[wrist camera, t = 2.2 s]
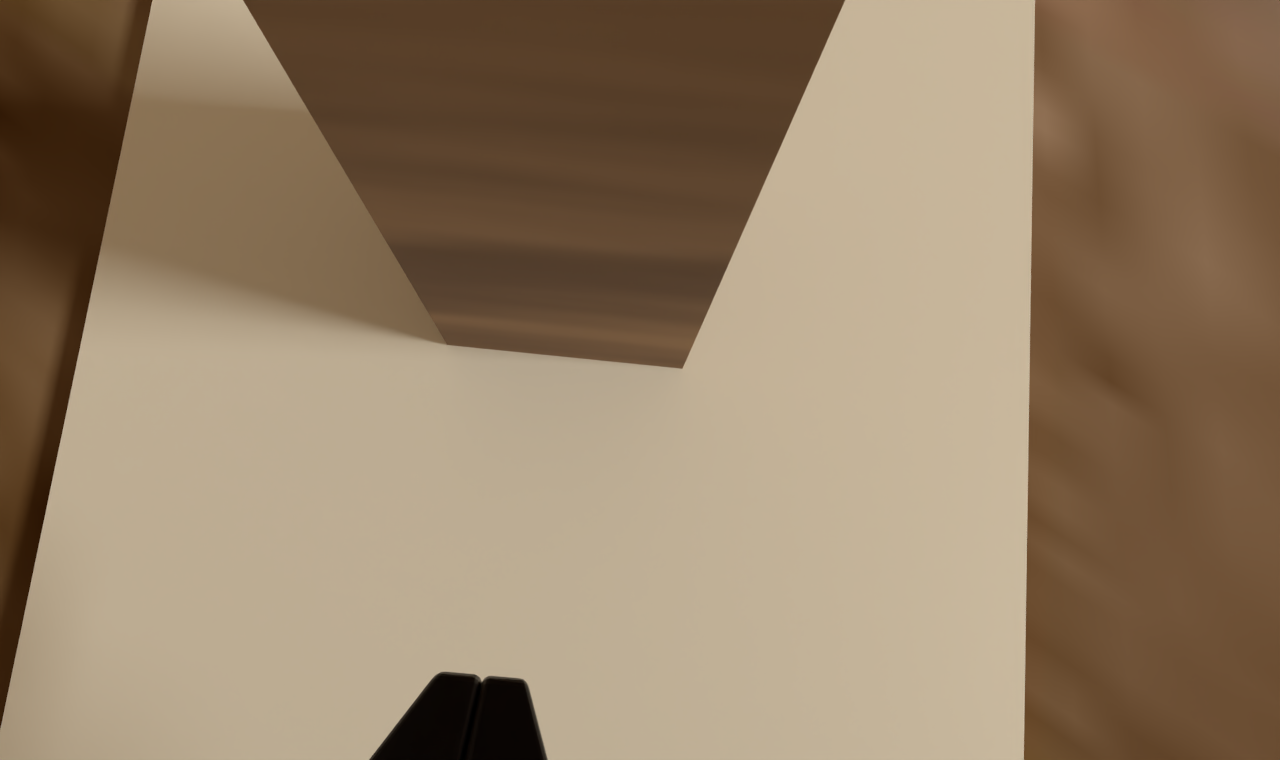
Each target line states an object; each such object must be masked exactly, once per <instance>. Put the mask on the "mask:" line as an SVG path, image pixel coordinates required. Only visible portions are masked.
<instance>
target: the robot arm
mask: <svg viewBox="0 0 1280 760" xmlns="http://www.w3.org/2000/svg"><path fill="white" fill-rule="evenodd" d="M369 760H548V759H547V755H546V751H545V747H544V743H543V739H542V736H541V732H540V728H539V724H538V720H537V716H536V712H535V709H534V705H533V701H532V697H531V693H530V689H529V686H528V684H527V682H526V681H525V680H523V679H521V678H512V677H501V676H488V677H486V678H484V680H483V681H481V678H480V677H479V676H478V675H475V674H467V673H456V672H440V673H438V674H436V675H435V676H434V677H433V678H432V679H431V680H430V682H429V683H428V684H427V685H426V687H425V688H424V689H423V691H422V692H421V693H420V694H419V696H418V697H417V698H416V700H415V701H414V702H413V704H412V705H411V706H410V707H409V709H408V710H407V711H406V713H405V714H404V715H403V716H402V718H401V719H400V720H399V722H398V723H397V724H396V725H395V727H394V728H393V729H392V731H391V732H390V733H389V734H388V736H387V737H386V738H385V740H384V741H383V742H382V743H381V745H380V746H379V747H378V749H377V750H376V751H375V753H374V754H373V755H372V756H371V758H370V759H369Z"/></svg>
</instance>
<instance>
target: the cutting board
mask: <svg viewBox="0 0 1280 760" xmlns="http://www.w3.org/2000/svg"><path fill="white" fill-rule="evenodd" d="M1034 26H1035V0H845V2H844V4H843V6H842V9H841V11H840V13H839V15H838V18H837V20H836V22H835V24H834V27H833V29H832V31H831V33H830V36H829V38H828V40H827V43H826V45H825V47H824V49H823V52H822V54H821V56H820V58H819V61H818V63H817V65H816V67H815V70H814V72H813V74H812V77H811V79H810V81H809V83H808V86H807V88H806V90H805V92H804V95H803V97H802V99H801V101H800V104H799V106H798V108H797V110H796V113H795V115H794V117H793V120H792V122H791V124H790V126H789V129H788V131H787V133H786V135H785V138H784V140H783V142H782V144H781V147H780V149H779V151H778V154H777V156H776V158H775V160H774V163H773V165H772V167H771V169H770V172H769V174H768V176H767V178H766V181H765V183H764V185H763V187H762V190H761V192H760V194H759V197H758V199H757V201H756V203H755V206H754V208H753V210H752V212H751V215H750V217H749V219H748V221H747V224H746V226H745V228H744V231H743V233H742V235H741V237H740V240H739V242H738V244H737V246H736V249H735V251H734V253H733V255H732V258H731V260H730V262H729V264H728V267H727V269H726V271H725V274H724V276H723V278H722V280H721V283H720V285H719V287H718V289H717V292H716V294H715V296H714V298H713V301H712V303H711V305H710V308H709V310H708V312H707V314H706V317H705V319H704V321H703V323H702V326H701V328H700V330H699V332H698V335H697V337H696V339H695V341H694V344H693V346H692V348H691V351H690V353H689V355H688V357H687V360H686V362H685V364H684V366H683V369H681V368H671V367H661V366H651V365H641V364H631V363H621V362H611V361H601V360H591V359H581V358H571V357H561V356H551V355H541V354H532V353H522V352H512V351H502V350H492V349H482V348H472V347H462V346H452V345H447V344H446V342H445V340H444V339H443V337H442V335H441V334H440V332H439V330H438V328H437V327H436V325H435V323H434V322H433V320H432V318H431V317H430V315H429V313H428V312H427V310H426V308H425V307H424V305H423V303H422V301H421V300H420V298H419V296H418V295H417V293H416V291H415V290H414V288H413V286H412V285H411V283H410V281H409V280H408V278H407V276H406V274H405V273H404V271H403V269H402V268H401V266H400V264H399V263H398V261H397V259H396V258H395V256H394V254H393V253H392V251H391V249H390V247H389V246H388V244H387V242H386V241H385V239H384V237H383V236H382V234H381V232H380V231H379V229H378V227H377V226H376V224H375V222H374V220H373V219H372V217H371V215H370V214H369V212H368V210H367V209H366V207H365V205H364V204H363V202H362V200H361V198H360V197H359V195H358V193H357V192H356V190H355V188H354V187H353V185H352V183H351V182H350V180H349V178H348V177H347V175H346V173H345V171H344V170H343V168H342V166H341V165H340V163H339V161H338V160H337V158H336V156H335V155H334V153H333V151H332V150H331V148H330V146H329V144H328V143H327V141H326V139H325V138H324V136H323V134H322V133H321V131H320V129H319V128H318V126H317V124H316V123H315V121H314V119H313V117H312V116H311V114H310V112H309V111H308V109H307V107H306V106H305V104H304V102H303V101H302V99H301V97H300V96H299V94H298V92H297V90H296V89H295V87H294V85H293V84H292V82H291V80H290V79H289V77H288V75H287V74H286V72H285V70H284V69H283V67H282V65H281V63H280V62H279V60H278V58H277V57H276V55H275V53H274V52H273V50H272V48H271V47H270V45H269V43H268V42H267V40H266V38H265V36H264V35H263V33H262V31H261V30H260V28H259V26H258V25H257V23H256V21H255V20H254V18H253V16H252V15H251V13H250V11H249V9H248V8H247V6H246V4H245V3H244V1H243V0H152V5H151V10H150V14H149V19H148V24H147V29H146V34H145V38H144V43H143V48H142V53H141V58H140V62H139V67H138V72H137V77H136V82H135V86H134V91H133V96H132V101H131V106H130V110H129V115H128V120H127V125H126V129H125V134H124V139H123V144H122V149H121V153H120V158H119V163H118V168H117V173H116V177H115V182H114V187H113V192H112V197H111V201H110V206H109V211H108V216H107V220H106V225H105V230H104V235H103V240H102V244H101V249H100V254H99V259H98V264H97V268H96V273H95V278H94V283H93V288H92V292H91V297H90V302H89V307H88V312H87V316H86V321H85V326H84V331H83V335H82V340H81V345H80V350H79V355H78V359H77V364H76V369H75V374H74V379H73V383H72V388H71V393H70V398H69V403H68V407H67V412H66V417H65V422H64V427H63V431H62V436H61V441H60V446H59V450H58V455H57V460H56V465H55V470H54V474H53V479H52V484H51V489H50V494H49V498H48V503H47V508H46V513H45V518H44V522H43V527H42V532H41V537H40V541H39V546H38V551H37V556H36V561H35V565H34V570H33V575H32V580H31V585H30V589H29V594H28V599H27V604H26V609H25V613H24V618H23V623H22V628H21V633H20V637H19V642H18V647H17V652H16V656H15V661H14V666H13V671H12V676H11V680H10V685H9V690H8V695H7V700H6V704H5V709H4V714H3V719H2V724H1V728H0V760H369V759H370V758H371V756H372V755H373V754H374V753H375V751H376V750H377V749H378V747H379V746H380V745H381V743H382V742H383V741H384V740H385V738H386V737H387V736H388V734H389V733H390V732H391V731H392V729H393V728H394V727H395V725H396V724H397V723H398V722H399V720H400V719H401V718H402V716H403V715H404V714H405V713H406V711H407V710H408V709H409V707H410V706H411V705H412V704H413V702H414V701H415V700H416V698H417V697H418V696H419V694H420V693H421V692H422V691H423V689H424V688H425V687H426V685H427V684H428V683H429V682H430V680H431V679H432V678H433V677H434V676H435V675H436V674H438V673H440V672H456V673H467V674H475V675H478V676H479V677H480V678H481V681H483V680H484V678H486V677H488V676H501V677H512V678H521V679H523V680H525V681H526V682H527V684H528V686H529V689H530V693H531V697H532V701H533V705H534V709H535V712H536V716H537V720H538V724H539V728H540V732H541V736H542V739H543V743H544V747H545V751H546V755H547V759H548V760H1024V704H1025V636H1026V568H1027V501H1028V433H1029V365H1030V297H1031V230H1032V162H1033V94H1034Z"/></svg>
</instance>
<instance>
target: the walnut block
mask: <svg viewBox="0 0 1280 760" xmlns="http://www.w3.org/2000/svg"><path fill="white" fill-rule="evenodd" d="M243 1H244V3H245V4H246V6H247V8H248V9H249V11H250V13H251V15H252V16H253V18H254V20H255V21H256V23H257V25H258V26H259V28H260V30H261V31H262V33H263V35H264V36H265V38H266V40H267V42H268V43H269V45H270V47H271V48H272V50H273V52H274V53H275V55H276V57H277V58H278V60H279V62H280V63H281V65H282V67H283V69H284V70H285V72H286V74H287V75H288V77H289V79H290V80H291V82H292V84H293V85H294V87H295V89H296V90H297V92H298V94H299V96H300V97H301V99H302V101H303V102H304V104H305V106H306V107H307V109H308V111H309V112H310V114H311V116H312V117H313V119H314V121H315V123H316V124H317V126H318V128H319V129H320V131H321V133H322V134H323V136H324V138H325V139H326V141H327V143H328V144H329V146H330V148H331V150H332V151H333V153H334V155H335V156H336V158H337V160H338V161H339V163H340V165H341V166H342V168H343V170H344V171H345V173H346V175H347V177H348V178H349V180H350V182H351V183H352V185H353V187H354V188H355V190H356V192H357V193H358V195H359V197H360V198H361V200H362V202H363V204H364V205H365V207H366V209H367V210H368V212H369V214H370V215H371V217H372V219H373V220H374V222H375V224H376V226H377V227H378V229H379V231H380V232H381V234H382V236H383V237H384V239H385V241H386V242H387V244H388V246H389V247H390V249H391V251H392V253H393V254H394V256H395V258H396V259H397V261H398V263H399V264H400V266H401V268H402V269H403V271H404V273H405V274H406V276H407V278H408V280H409V281H410V283H411V285H412V286H413V288H414V290H415V291H416V293H417V295H418V296H419V298H420V300H421V301H422V303H423V305H424V307H425V308H426V310H427V312H428V313H429V315H430V317H431V318H432V320H433V322H434V323H435V325H436V327H437V328H438V330H439V332H440V334H441V335H442V337H443V339H444V340H445V342H446V344H447V345H452V346H462V347H472V348H482V349H492V350H502V351H512V352H522V353H532V354H541V355H551V356H561V357H571V358H581V359H591V360H601V361H611V362H621V363H631V364H641V365H651V366H661V367H671V368H681V369H683V366H684V364H685V362H686V360H687V357H688V355H689V353H690V351H691V348H692V346H693V344H694V341H695V339H696V337H697V335H698V332H699V330H700V328H701V326H702V323H703V321H704V319H705V317H706V314H707V312H708V310H709V308H710V305H711V303H712V301H713V298H714V296H715V294H716V292H717V289H718V287H719V285H720V283H721V280H722V278H723V276H724V274H725V271H726V269H727V267H728V264H729V262H730V260H731V258H732V255H733V253H734V251H735V249H736V246H737V244H738V242H739V240H740V237H741V235H742V233H743V231H744V228H745V226H746V224H747V221H748V219H749V217H750V215H751V212H752V210H753V208H754V206H755V203H756V201H757V199H758V197H759V194H760V192H761V190H762V187H763V185H764V183H765V181H766V178H767V176H768V174H769V172H770V169H771V167H772V165H773V163H774V160H775V158H776V156H777V154H778V151H779V149H780V147H781V144H782V142H783V140H784V138H785V135H786V133H787V131H788V129H789V126H790V124H791V122H792V120H793V117H794V115H795V113H796V110H797V108H798V106H799V104H800V101H801V99H802V97H803V95H804V92H805V90H806V88H807V86H808V83H809V81H810V79H811V77H812V74H813V72H814V70H815V67H816V65H817V63H818V61H819V58H820V56H821V54H822V52H823V49H824V47H825V45H826V43H827V40H828V38H829V36H830V33H831V31H832V29H833V27H834V24H835V22H836V20H837V18H838V15H839V13H840V11H841V9H842V6H843V4H844V2H845V0H243Z"/></svg>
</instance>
